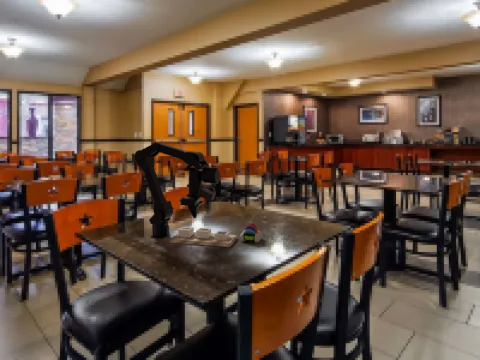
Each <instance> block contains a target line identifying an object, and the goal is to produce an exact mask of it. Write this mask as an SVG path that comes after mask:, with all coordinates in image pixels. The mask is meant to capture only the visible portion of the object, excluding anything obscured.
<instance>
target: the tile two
mask: <svg viewBox="0 0 480 360" xmlns="http://www.w3.org/2000/svg"><path fill="white" fill-rule="evenodd" d="M195 232H196V238H199V239H207V240H209V239H208V238H209V237H210V236H211V233H212V228H209V227H208V228H207V227H205V228H204V227H200V228H198V229H197V230H196V231H195Z"/></svg>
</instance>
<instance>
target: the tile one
mask: <svg viewBox="0 0 480 360" xmlns="http://www.w3.org/2000/svg"><path fill="white" fill-rule="evenodd" d="M194 230H195V229H194V227H193V226H192V227H191V226H181V227H180V228H179V229H178V230H177V231H178V233H177V234H178V235H179V237H181V238H191V236H192V235H193V234H194V232H195V231H194Z"/></svg>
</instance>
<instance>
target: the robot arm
mask: <svg viewBox="0 0 480 360" xmlns="http://www.w3.org/2000/svg"><path fill="white" fill-rule="evenodd" d="M159 154H163V155H166V156H169V157H172V158H175V159H179V160H181V161H182V162H183V163H184V164H186V165H187V166H185V168H184V169H183V171H186V172H188V183H187V184H186V188H187V189H188V191H187V194H186V196H184V197H182V198H181V199H180V201H179V204H180V206H187V208H188V209H189V212H190V214H191V216H192V218H193V219H196V218H197V216H198V213H199V210H200V207H201V205H202V204H203V203H205V201H204V200H202V199H205V200H207V201H208V202H212V201H214V199H215V196H216V195H217V193H216V190H215V188H214V187H210V188H206V187H205V184H215V185H218V184H219V183H220V182H221V178H222V177H221V173H220V170H219V166H218V167H217V166H213V167H211V166H210V165H209V164H208V161H206V159H205V154H204V153H203V152H201V151H194V150H184V149H182V148H178V147H176V146H173V145H170V144H166V143H164V142H161V141H155V142H153V143H152V144H150V145H148V146H146V147H144V148H142V149H138V150H136V151H135V152H134V155H133V159H134V161H135V163H136V165H137V167H138V168H140V170H141V171H142V172H143V175H144V178H145V181H146V183H147V187H148V189H149V192H150V195H151V197H152V201H153V205H152V211H153V215H151V216H150V218H149V219H148V221H149V223H150V224H149V225H151V228H152V234H151V235H150V238H159V239H165V238H166V237H168V236H170V235H171V233H170V225H169V222H170V220H171V217H173V214H174V207H173V205H172V200H167V199H166V198H165V195H164V193H163V190H162V187H161V184H160V181H159V178H158V176H157V173H156V169H155V161H156V160H155V157H157V156H158V155H159ZM204 183H205V184H204Z"/></svg>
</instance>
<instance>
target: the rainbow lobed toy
mask: <svg viewBox="0 0 480 360" xmlns="http://www.w3.org/2000/svg"><path fill="white" fill-rule="evenodd" d="M262 238H263V232H262V231H260V230H258V228H257V225H256V224H255V223H248V225H246V226H245V228H244V229H243V231H242V232H241V233H240V235H239V240H240V241H241V242H243V243H244V242H245V241H254V242H255V244H257V243H259V242H260V240H261V239H262Z"/></svg>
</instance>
